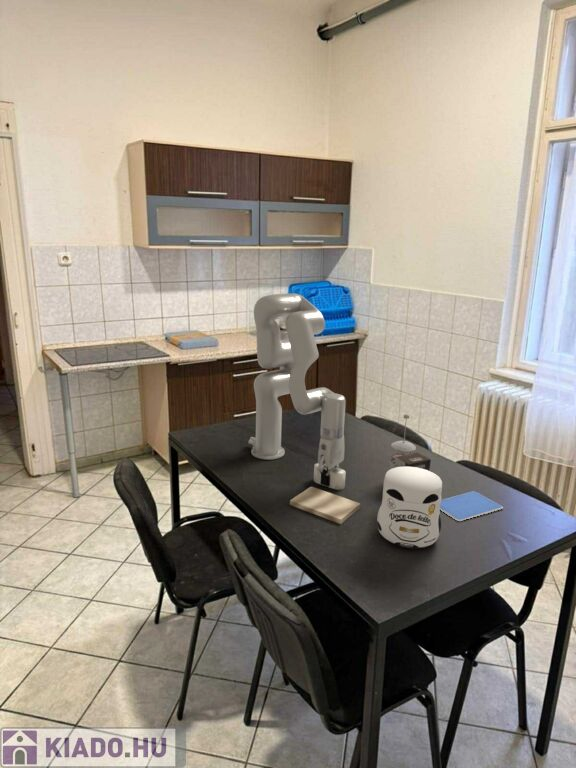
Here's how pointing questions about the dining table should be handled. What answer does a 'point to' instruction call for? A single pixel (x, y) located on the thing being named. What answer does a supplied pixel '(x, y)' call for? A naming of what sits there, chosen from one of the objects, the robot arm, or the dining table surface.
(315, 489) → the birch board
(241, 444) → the dining table surface
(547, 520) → the dining table surface
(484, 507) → the blue flat pad
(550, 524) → the dining table surface
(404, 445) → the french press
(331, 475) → the rounded block
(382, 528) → the doce de leite jar
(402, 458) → the coffee box
